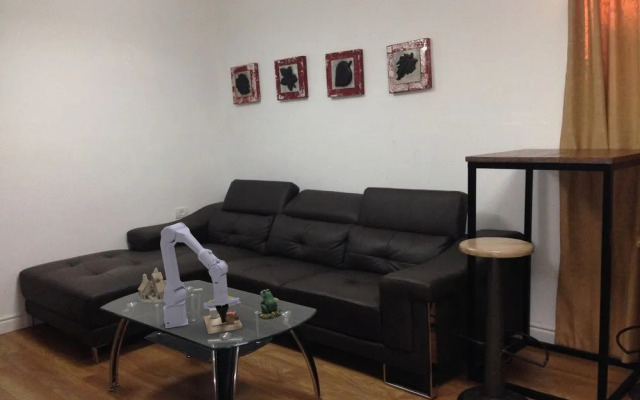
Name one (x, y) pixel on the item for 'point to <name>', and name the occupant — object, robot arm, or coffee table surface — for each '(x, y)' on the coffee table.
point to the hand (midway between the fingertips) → (223, 322)
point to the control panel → (221, 324)
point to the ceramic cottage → (152, 288)
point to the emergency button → (228, 304)
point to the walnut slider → (230, 318)
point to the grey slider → (213, 313)
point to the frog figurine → (268, 306)
